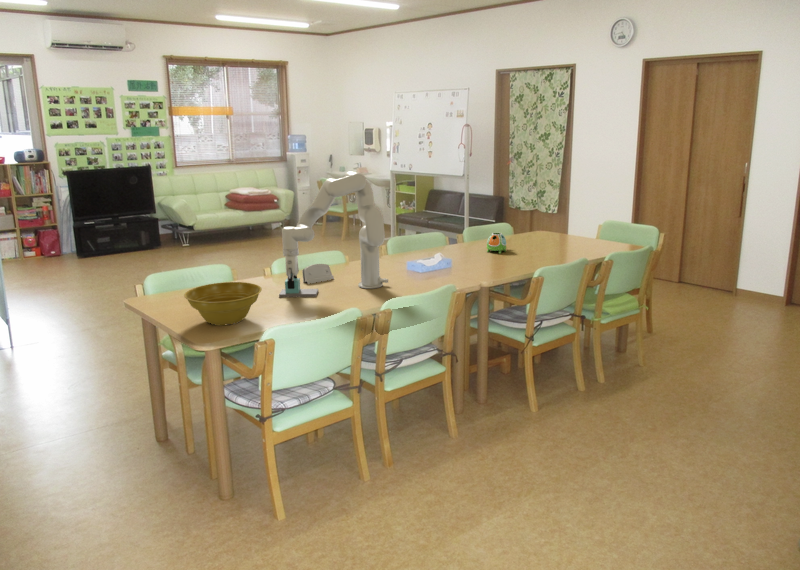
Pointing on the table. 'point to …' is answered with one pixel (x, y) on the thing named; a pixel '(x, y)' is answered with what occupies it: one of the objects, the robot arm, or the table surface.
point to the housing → (296, 285)
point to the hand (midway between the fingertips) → (292, 286)
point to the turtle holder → (496, 242)
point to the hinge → (317, 273)
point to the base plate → (300, 293)
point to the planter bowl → (223, 301)
